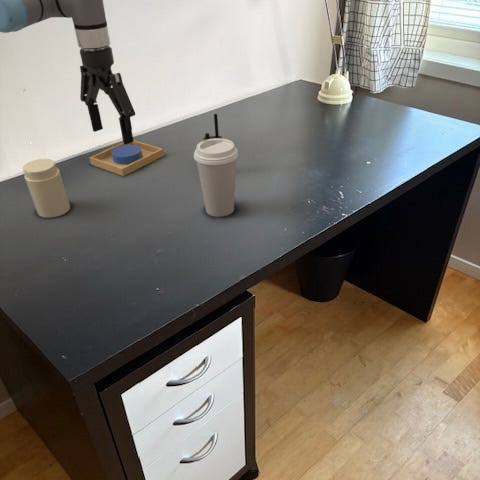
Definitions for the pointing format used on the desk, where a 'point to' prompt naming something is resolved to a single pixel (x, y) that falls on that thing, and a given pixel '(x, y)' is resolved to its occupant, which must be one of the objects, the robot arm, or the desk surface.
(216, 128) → the walkie-talkie
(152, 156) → the tray
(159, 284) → the desk surface
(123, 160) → the lid
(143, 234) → the desk surface
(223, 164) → the coffee cup
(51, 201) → the jar
